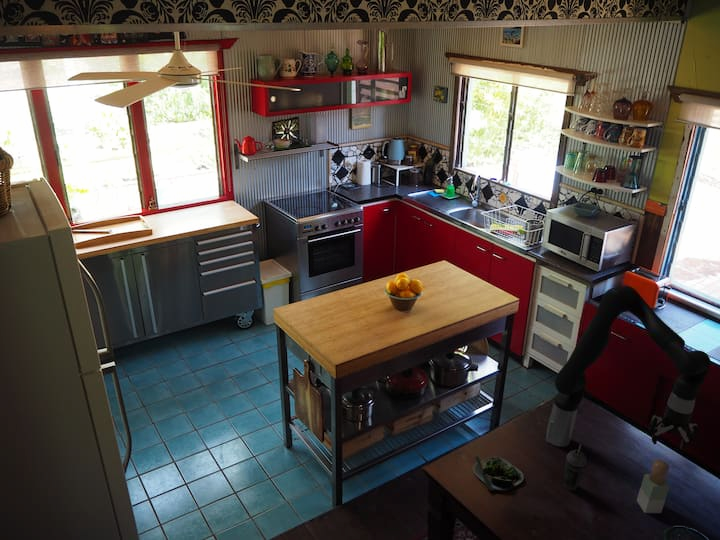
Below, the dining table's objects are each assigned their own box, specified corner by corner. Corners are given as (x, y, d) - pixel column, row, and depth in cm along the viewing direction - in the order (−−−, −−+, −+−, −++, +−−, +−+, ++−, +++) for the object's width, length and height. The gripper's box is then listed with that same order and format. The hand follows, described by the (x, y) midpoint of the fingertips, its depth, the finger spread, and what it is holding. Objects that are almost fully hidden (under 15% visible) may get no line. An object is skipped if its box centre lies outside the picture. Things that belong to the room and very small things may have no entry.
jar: (650, 483, 209) (655, 466, 206) (648, 474, 213) (653, 458, 210) (665, 486, 208) (670, 470, 205) (662, 477, 212) (667, 461, 209)
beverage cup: (580, 482, 224) (591, 438, 217) (580, 495, 218) (591, 451, 210) (560, 477, 226) (570, 433, 219) (559, 490, 220) (569, 445, 212)
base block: (644, 513, 212) (648, 499, 210) (636, 500, 217) (640, 487, 215) (661, 513, 212) (665, 499, 210) (652, 500, 218) (656, 487, 216)
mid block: (649, 499, 210) (653, 486, 207) (640, 487, 215) (644, 474, 213) (665, 499, 210) (669, 486, 208) (656, 487, 216) (660, 474, 213)
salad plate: (458, 466, 229) (460, 457, 227) (492, 452, 238) (494, 442, 237) (495, 499, 214) (497, 489, 212) (529, 482, 224) (531, 472, 222)
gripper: (658, 407, 197) (646, 447, 203) (706, 417, 193) (692, 457, 200) (655, 395, 204) (643, 434, 210) (701, 404, 200) (688, 444, 206)
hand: (667, 445), depth 205 cm, fingers open, 8 cm apart
